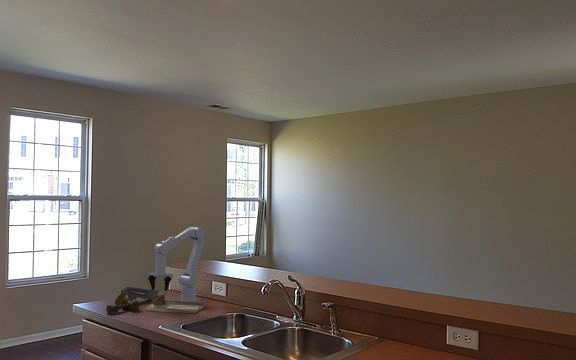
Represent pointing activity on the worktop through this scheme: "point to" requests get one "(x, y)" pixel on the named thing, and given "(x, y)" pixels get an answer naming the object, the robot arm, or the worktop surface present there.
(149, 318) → the worktop surface
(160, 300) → the brown handled block
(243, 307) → the worktop surface
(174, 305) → the board
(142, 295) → the gun
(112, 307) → the kendama
